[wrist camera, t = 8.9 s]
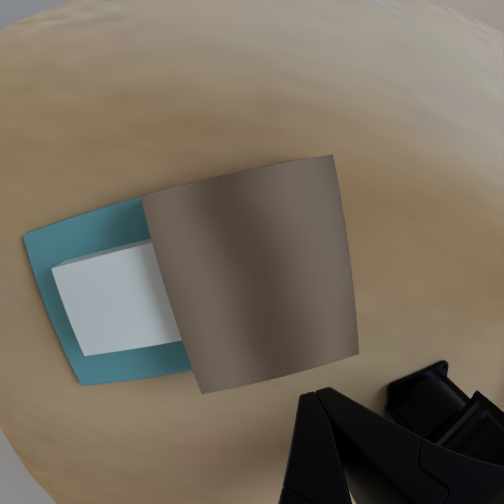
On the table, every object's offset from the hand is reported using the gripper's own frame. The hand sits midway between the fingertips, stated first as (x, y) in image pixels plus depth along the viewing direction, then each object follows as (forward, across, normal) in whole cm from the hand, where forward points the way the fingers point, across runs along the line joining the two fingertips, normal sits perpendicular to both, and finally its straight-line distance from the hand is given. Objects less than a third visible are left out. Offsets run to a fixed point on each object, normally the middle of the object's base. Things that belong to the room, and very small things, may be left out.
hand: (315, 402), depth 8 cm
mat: (+13, +10, 0) cm, 17 cm away
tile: (+12, +9, -1) cm, 15 cm away
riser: (+13, 0, 0) cm, 13 cm away
